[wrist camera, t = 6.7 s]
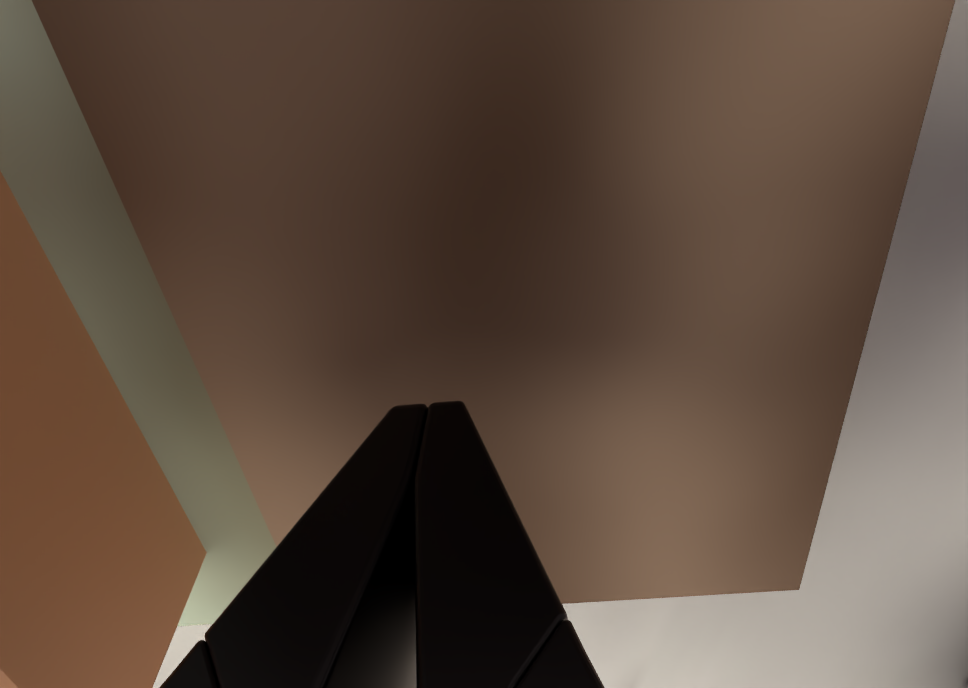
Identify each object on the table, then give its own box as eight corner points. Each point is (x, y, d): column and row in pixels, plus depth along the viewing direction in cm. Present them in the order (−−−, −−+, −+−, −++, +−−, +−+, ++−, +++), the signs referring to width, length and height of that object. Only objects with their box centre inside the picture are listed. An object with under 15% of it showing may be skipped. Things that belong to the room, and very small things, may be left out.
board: (999, -416, 6) (1711, -793, 3) (781, 548, 14) (881, 784, 11) (-1018, -107, 8) (-2341, -72, 4) (-186, 609, 16) (-388, 834, 12)
